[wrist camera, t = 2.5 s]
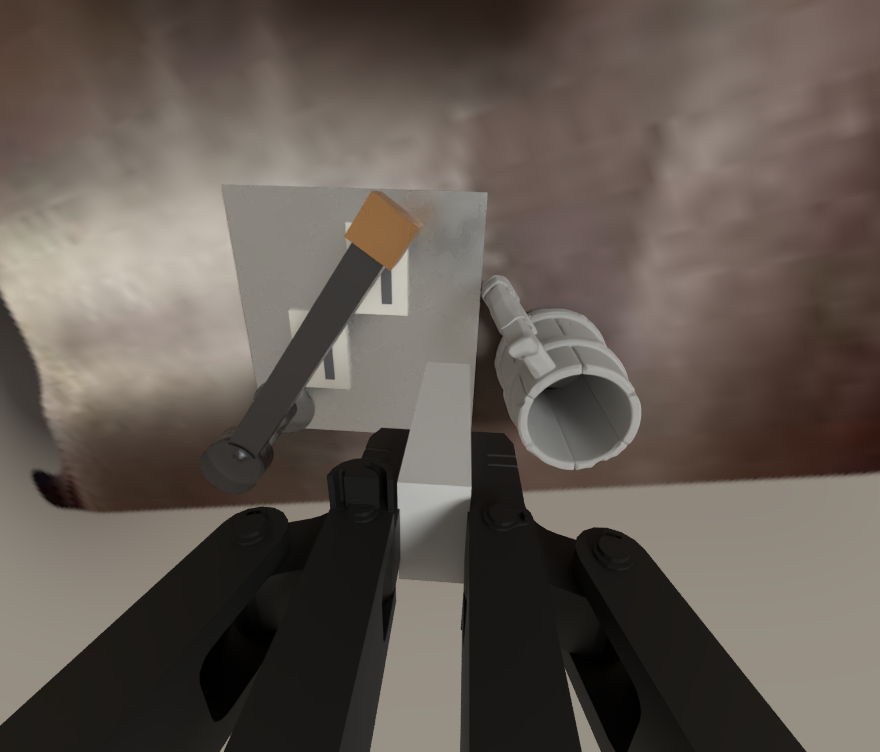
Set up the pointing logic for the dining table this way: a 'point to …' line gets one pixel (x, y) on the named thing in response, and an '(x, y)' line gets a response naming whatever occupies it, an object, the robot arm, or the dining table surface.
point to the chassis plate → (369, 335)
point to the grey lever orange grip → (312, 342)
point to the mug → (560, 382)
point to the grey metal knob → (294, 415)
